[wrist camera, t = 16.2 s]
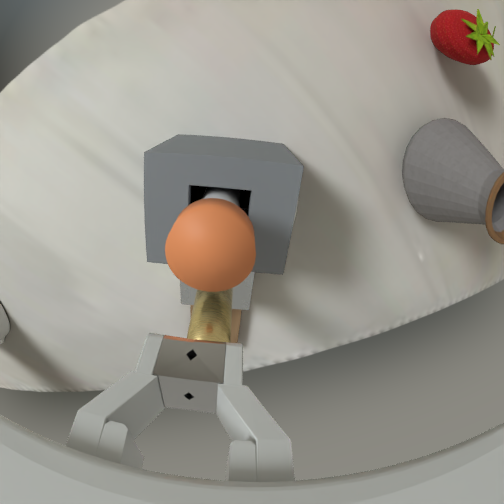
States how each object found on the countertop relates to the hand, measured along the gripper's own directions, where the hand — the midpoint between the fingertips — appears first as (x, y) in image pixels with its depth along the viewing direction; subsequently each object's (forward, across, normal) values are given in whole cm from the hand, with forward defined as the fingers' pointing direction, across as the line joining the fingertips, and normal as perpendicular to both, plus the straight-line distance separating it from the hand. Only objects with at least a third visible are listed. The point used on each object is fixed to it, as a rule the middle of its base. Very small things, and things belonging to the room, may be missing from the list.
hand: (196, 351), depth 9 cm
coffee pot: (+22, -27, -7) cm, 35 cm away
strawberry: (+22, -20, -20) cm, 35 cm away
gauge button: (+17, 0, 0) cm, 17 cm away
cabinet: (+21, 0, 0) cm, 21 cm away
